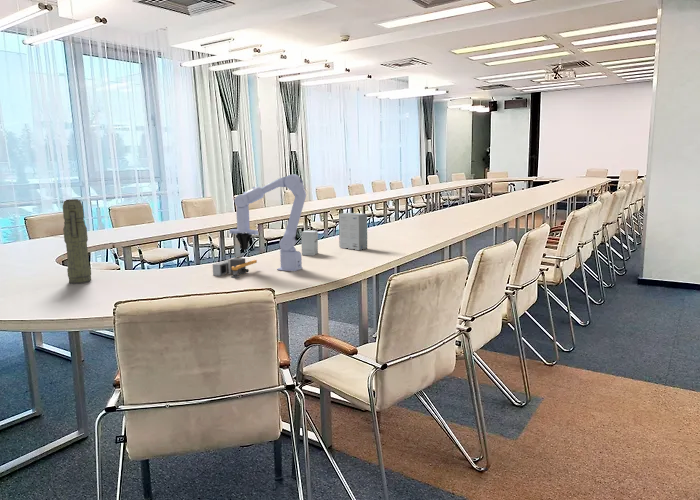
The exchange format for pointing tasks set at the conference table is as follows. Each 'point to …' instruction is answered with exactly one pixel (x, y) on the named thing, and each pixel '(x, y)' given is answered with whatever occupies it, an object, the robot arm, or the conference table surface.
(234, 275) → the lever handle base
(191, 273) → the conference table surface
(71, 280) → the carved stone statue
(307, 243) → the supplement box
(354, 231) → the hard drive box
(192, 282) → the conference table surface
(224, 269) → the socket
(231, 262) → the plug
